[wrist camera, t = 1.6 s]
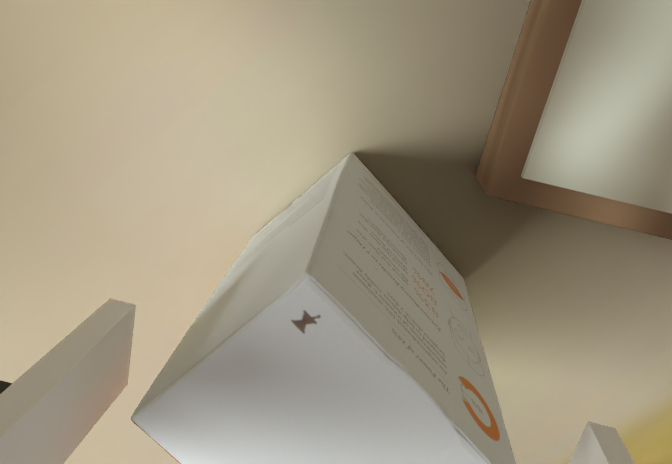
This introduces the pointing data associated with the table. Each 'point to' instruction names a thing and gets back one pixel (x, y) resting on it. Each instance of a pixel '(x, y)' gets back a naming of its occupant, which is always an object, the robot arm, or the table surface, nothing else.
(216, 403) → the small box
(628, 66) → the stand
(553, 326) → the table surface
